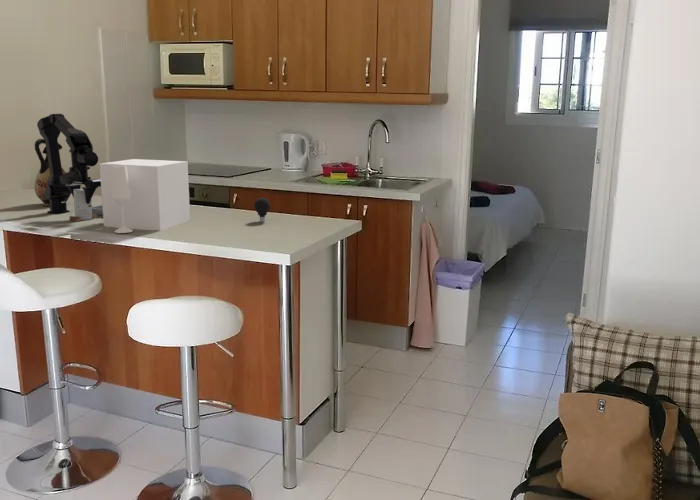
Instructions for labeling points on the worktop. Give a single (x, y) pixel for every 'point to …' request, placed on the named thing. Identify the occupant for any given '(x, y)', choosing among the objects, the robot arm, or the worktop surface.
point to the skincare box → (82, 205)
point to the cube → (148, 194)
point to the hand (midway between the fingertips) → (82, 203)
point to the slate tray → (98, 210)
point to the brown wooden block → (73, 218)
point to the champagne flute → (121, 193)
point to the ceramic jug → (43, 173)
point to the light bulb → (262, 208)
